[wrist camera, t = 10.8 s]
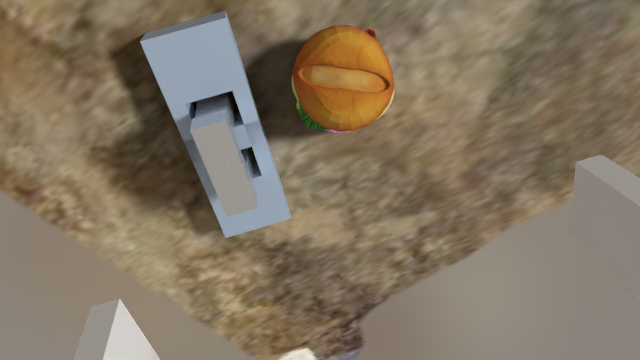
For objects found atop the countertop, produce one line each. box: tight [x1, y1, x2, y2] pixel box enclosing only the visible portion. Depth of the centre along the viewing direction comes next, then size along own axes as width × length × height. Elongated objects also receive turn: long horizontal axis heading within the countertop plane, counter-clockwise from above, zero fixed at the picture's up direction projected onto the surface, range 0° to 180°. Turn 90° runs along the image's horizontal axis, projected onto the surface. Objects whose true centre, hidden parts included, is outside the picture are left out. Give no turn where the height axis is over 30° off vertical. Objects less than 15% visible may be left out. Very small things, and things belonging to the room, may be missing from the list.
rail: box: [140, 11, 291, 238], centre depth 45 cm, size 22×8×4 cm, turn 13°
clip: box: [190, 92, 258, 217], centre depth 43 cm, size 9×3×10 cm, turn 13°
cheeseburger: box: [292, 25, 394, 133], centre depth 43 cm, size 10×11×10 cm
